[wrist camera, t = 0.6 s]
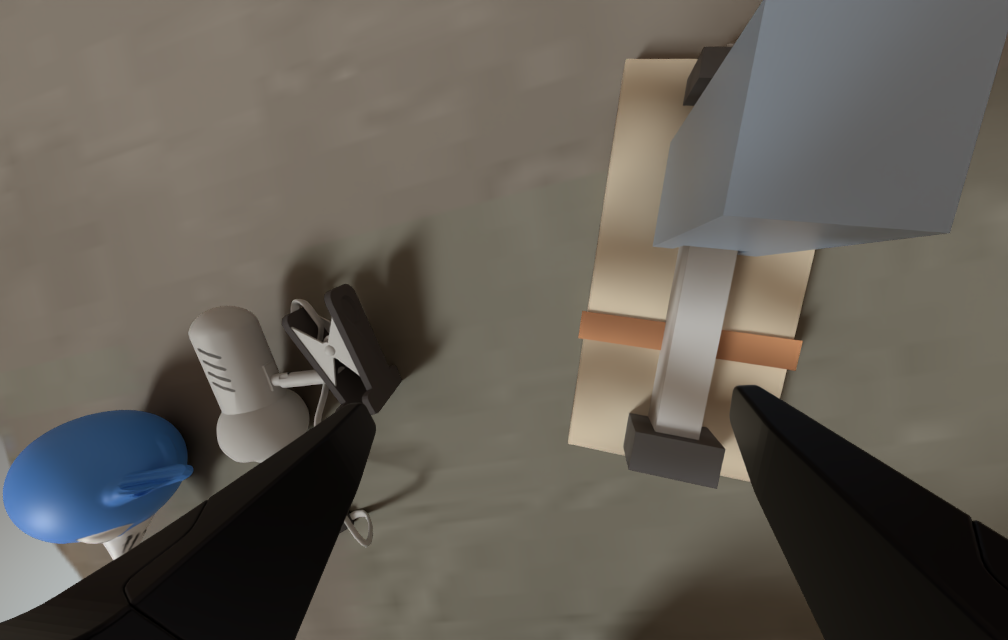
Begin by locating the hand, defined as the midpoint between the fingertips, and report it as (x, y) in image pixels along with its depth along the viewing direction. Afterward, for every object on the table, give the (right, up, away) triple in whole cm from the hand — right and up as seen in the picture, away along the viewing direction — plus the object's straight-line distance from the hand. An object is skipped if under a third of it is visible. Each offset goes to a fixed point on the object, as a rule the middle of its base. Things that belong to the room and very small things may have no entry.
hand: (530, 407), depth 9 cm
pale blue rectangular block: (+9, +8, +8) cm, 15 cm away
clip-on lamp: (-13, -5, +17) cm, 22 cm away
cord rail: (+9, +5, +11) cm, 15 cm away
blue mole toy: (-28, -10, +21) cm, 36 cm away
